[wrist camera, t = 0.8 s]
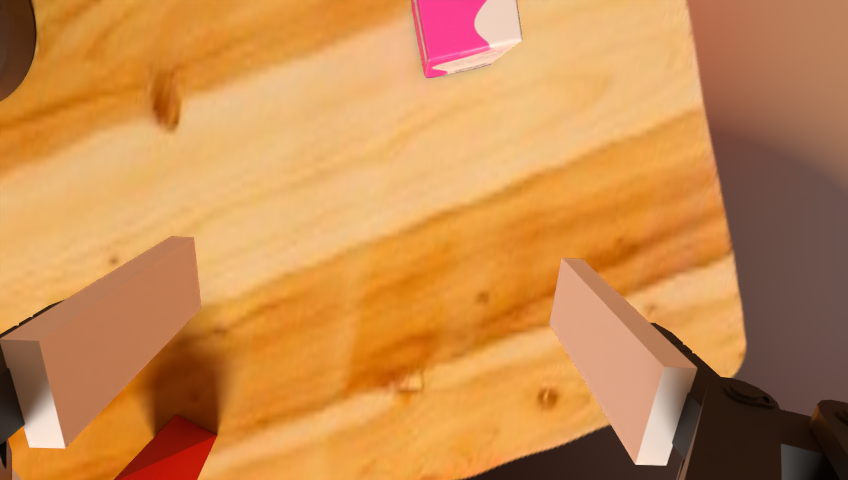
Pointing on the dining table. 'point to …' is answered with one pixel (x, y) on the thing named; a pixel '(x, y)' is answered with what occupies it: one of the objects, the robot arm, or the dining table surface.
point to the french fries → (172, 453)
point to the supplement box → (464, 33)
